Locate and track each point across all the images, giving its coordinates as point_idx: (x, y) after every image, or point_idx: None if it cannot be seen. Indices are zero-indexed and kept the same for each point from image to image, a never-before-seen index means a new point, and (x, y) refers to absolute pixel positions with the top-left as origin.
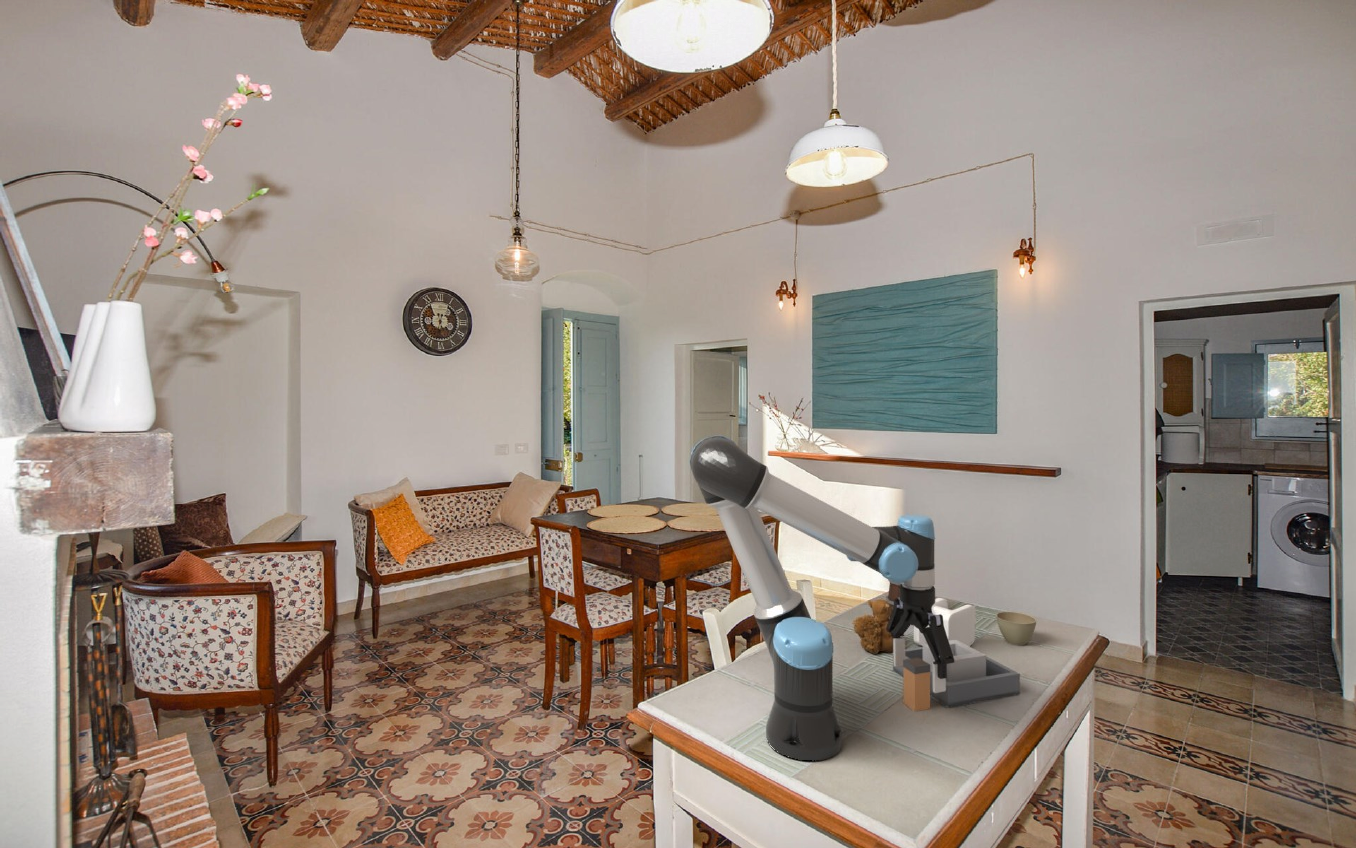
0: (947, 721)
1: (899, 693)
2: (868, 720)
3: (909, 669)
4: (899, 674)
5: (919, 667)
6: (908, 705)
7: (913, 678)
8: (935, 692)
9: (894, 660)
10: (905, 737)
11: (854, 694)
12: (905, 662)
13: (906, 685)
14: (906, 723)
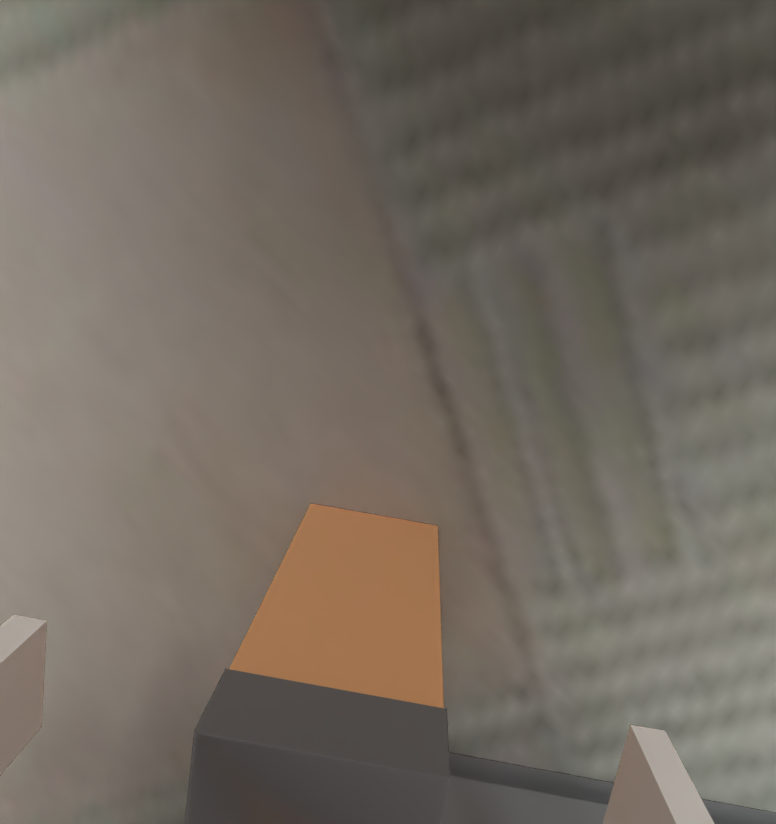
0: (126, 585)
1: (555, 605)
2: (361, 89)
3: (320, 698)
4: (762, 812)
5: (189, 783)
6: (378, 518)
7: (267, 639)
8: (7, 621)
9: (674, 778)
10: (63, 174)
11: (737, 291)
12: (395, 755)
13: (393, 592)
14: (209, 327)
